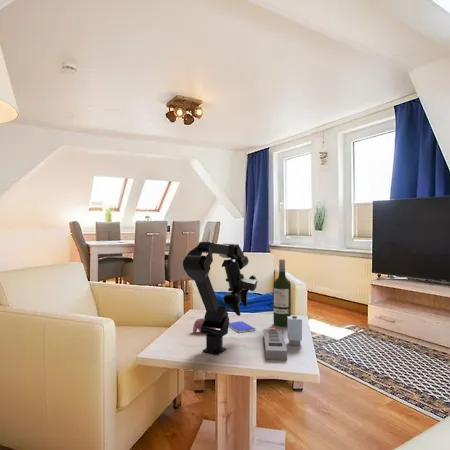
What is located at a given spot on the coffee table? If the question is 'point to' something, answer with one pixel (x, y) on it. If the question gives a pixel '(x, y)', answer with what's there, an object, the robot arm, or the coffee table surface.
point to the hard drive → (241, 327)
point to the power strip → (274, 344)
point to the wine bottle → (282, 297)
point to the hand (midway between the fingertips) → (242, 310)
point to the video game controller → (199, 325)
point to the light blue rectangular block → (294, 330)
